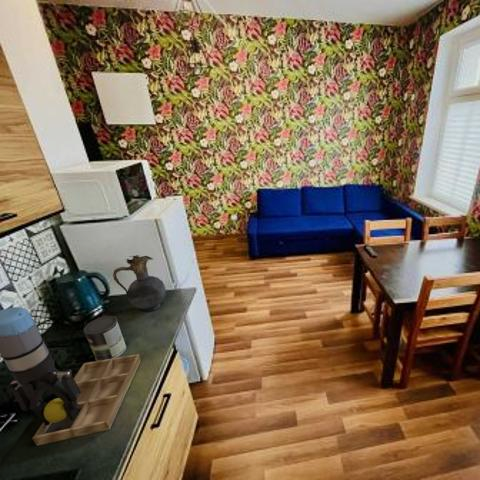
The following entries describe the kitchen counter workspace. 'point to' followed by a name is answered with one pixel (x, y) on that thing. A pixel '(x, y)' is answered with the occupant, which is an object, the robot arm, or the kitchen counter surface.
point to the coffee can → (105, 338)
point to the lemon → (55, 411)
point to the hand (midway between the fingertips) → (62, 418)
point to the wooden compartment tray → (94, 399)
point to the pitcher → (142, 285)
